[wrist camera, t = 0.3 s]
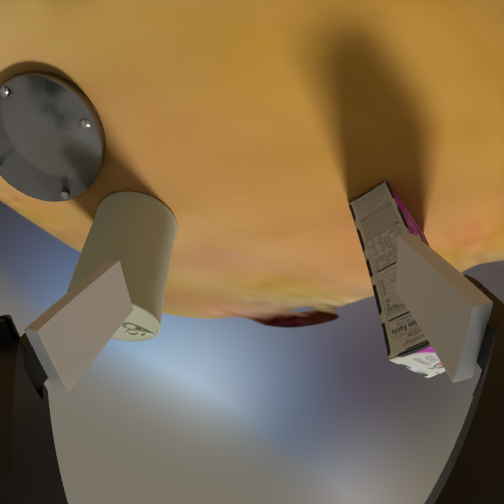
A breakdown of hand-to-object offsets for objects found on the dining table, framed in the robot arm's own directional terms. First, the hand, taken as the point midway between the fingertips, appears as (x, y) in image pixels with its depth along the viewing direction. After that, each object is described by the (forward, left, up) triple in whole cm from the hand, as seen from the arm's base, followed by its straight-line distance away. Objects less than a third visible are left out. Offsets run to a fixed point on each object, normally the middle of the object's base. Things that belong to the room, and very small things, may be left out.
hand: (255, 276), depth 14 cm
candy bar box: (+13, +13, -15) cm, 24 cm away
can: (+9, -14, -15) cm, 22 cm away
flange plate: (-4, -19, -15) cm, 24 cm away
